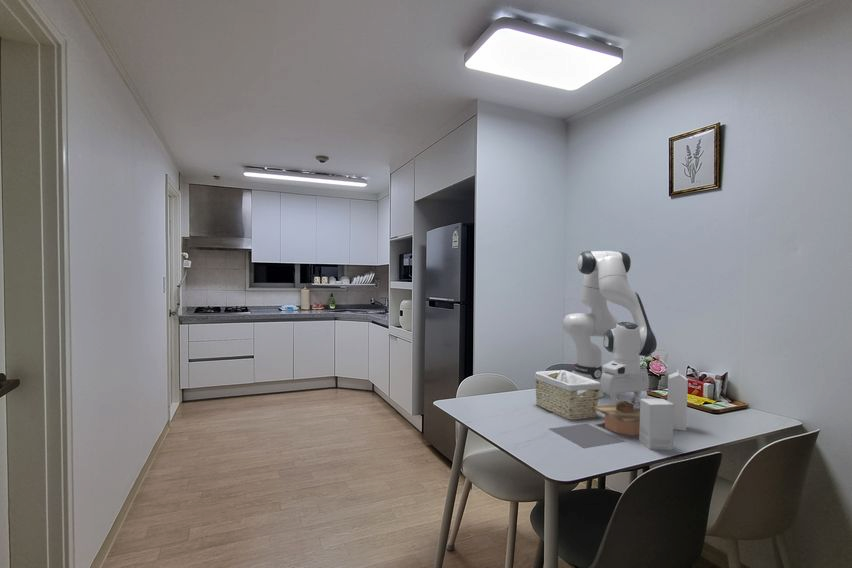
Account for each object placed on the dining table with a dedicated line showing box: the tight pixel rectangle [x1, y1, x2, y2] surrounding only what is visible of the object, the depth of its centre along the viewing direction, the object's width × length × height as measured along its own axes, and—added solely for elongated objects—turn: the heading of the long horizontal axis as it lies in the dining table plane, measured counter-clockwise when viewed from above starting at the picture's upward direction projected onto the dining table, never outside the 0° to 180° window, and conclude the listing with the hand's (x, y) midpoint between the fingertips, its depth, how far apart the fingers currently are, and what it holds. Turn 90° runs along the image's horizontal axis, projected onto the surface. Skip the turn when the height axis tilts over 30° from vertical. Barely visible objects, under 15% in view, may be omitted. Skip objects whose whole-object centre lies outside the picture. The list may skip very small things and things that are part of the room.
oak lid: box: [592, 400, 640, 423], centre depth 154 cm, size 16×16×4 cm
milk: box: [666, 368, 689, 432], centre depth 159 cm, size 6×6×22 cm
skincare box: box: [638, 398, 674, 450], centre depth 138 cm, size 8×7×16 cm
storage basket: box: [534, 369, 601, 420], centre depth 174 cm, size 24×16×15 cm
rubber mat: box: [548, 423, 626, 449], centre depth 146 cm, size 18×18×1 cm
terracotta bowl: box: [604, 414, 640, 436], centre depth 154 cm, size 13×13×6 cm
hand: (624, 403), depth 154 cm, fingers open, 8 cm apart
